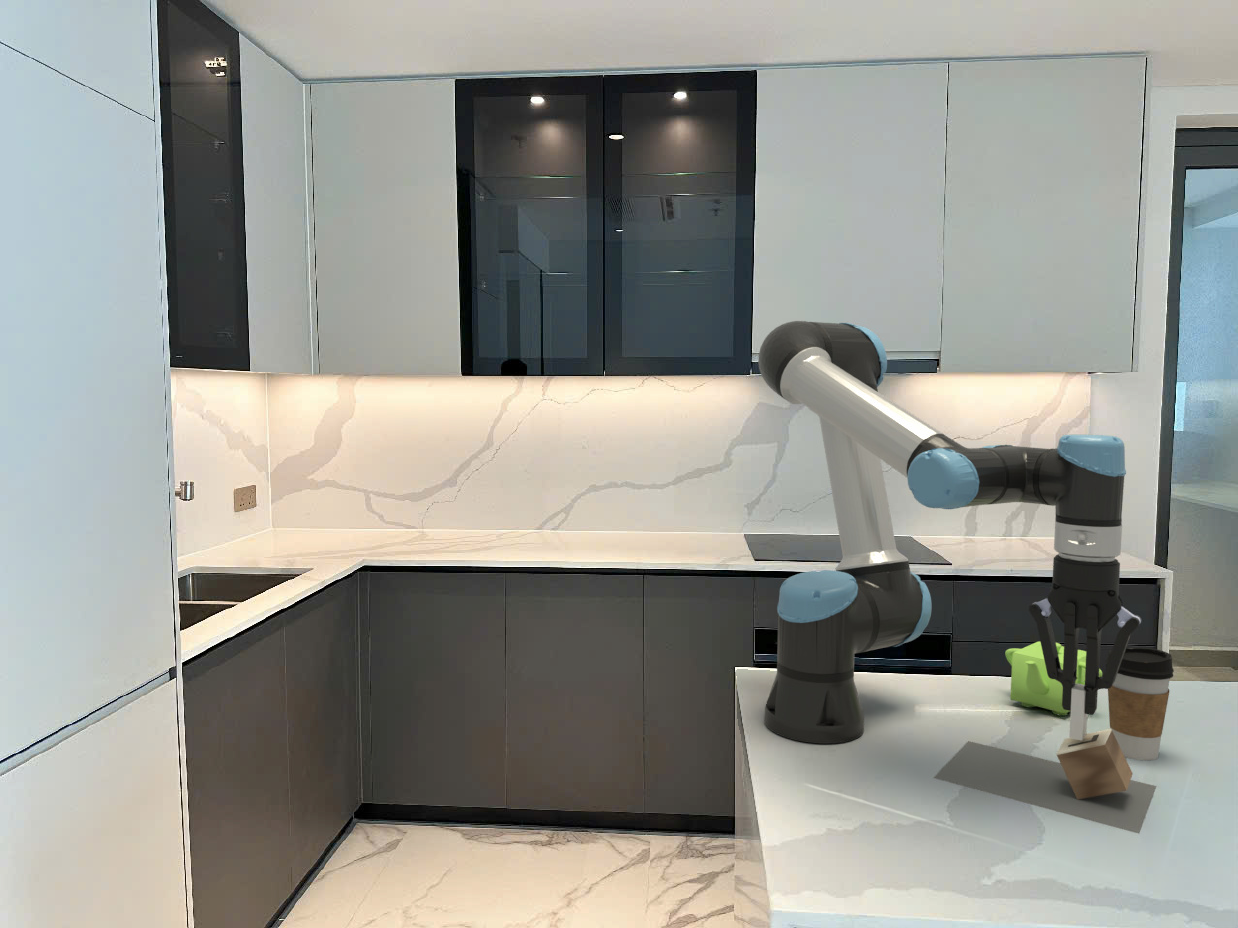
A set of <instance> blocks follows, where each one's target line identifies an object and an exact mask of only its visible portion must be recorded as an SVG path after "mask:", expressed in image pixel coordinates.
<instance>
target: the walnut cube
mask: <svg viewBox="0 0 1238 928" xmlns="http://www.w3.org/2000/svg"><path fill="white" fill-rule="evenodd" d="M1055 754H1056V756H1057V760H1059V763H1061V765H1062V767H1063V770H1064V772H1065V774H1066V776H1067V778H1068V780H1069V782H1070V785H1071V787H1072V789H1073V791H1074V793H1075V795H1076V798H1077V800H1078V799H1083V798H1089V797H1094V796H1100V795H1105V794H1110V793H1116V792H1121V791H1127V789H1128V786H1129V783H1130V780H1132V777H1133V775H1134V774H1133V771H1132V769H1131V767H1130V765H1129V763H1128V761H1127V758H1126V757H1125V756H1124V754H1123V752H1122V750H1121V748H1120V746H1119V744H1118V742H1117V740H1116V738H1115V736H1114V733H1113V731H1112V729H1110V728H1108V729H1107V728H1106V729H1103V730H1098V731H1094V732H1089V733H1086V736H1085V737H1084V739H1083V740H1082V741H1081V740H1077V739H1072V738H1069V737H1067V738H1064V739H1063V741H1062V743H1061V744H1060V746H1059V748H1058V749H1057V751H1056V753H1055Z"/></svg>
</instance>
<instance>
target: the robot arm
mask: <svg viewBox="0 0 1238 928" xmlns="http://www.w3.org/2000/svg"><path fill="white" fill-rule="evenodd" d="M757 362H758V369H759V373H760V375H761V377H762V379H763V380H764V382H765V383H766V385H767V386H768V387H769V388H770V389H771V390H772V391H773V392H774V393H776V395H778V396H779V397H781V398H782V399H784V400H785V401H787V402H788V403H790V404H792V405H804V406H805V407H807V408H808V410H809V411H811V412H812V413H814V414H815V415H817V416H818V417H819V424H820V428H821V434H822V435H821V436H822V442H823V447H824V453H825V459H826V464H827V465H826V466H827V471H828V476H829V477H828V478H829V482H830V489H831V494H832V500H833V501H832V502H833V506H834V512H835V518H836V523H837V528H838V529H837V531H838V535H839V540H840V541H839V542H840V547H841V553H842V559H841V561H839V563H838V565H836V567H835V570H829V569H828V570H827V569H825V570H819V571H816V570H810V571H804V572H800V573H797V574H795V575H792V576H789V577H788V578H786V579H785V580H784V581H783V583H781V586H780V588H779V596H778V597H779V598H778V603H777V607H776V610H777V653H776V654H777V657H776V659H777V661H776V674H775V678H774V680H773V684H772V685H771V689H770V691H769V694H768V697H767V700H766V702H765V705H764V720H763V721H764V725H765V726H766V728H768V729H769V730H771V731H772V732H773V733H775V734H776V735H779V736H782V737H784V738H788V739H790V740H795V741H798V742H799V741H800V742H803V743H805V742H806V743H813V744H840V743H846V742H849V741H850V742H851V741H853V740H855V739H857V738H859V737H861V736H862V735H863V734H864V731H865V714H864V709H863V707H862V703H861V700H860V697H859V693H858V689H857V687H856V683H855V677H854V676H855V657H856V656H855V654H860V653H865V652H869V651H874V650H878V649H883V648H896V647H900V646H902V645H903V644H905V643H906V644H907V643H909V642H912V641H914V640H916V639H917V638H919V637H920V636H921V635H922V634H923V632H924V630H925V629H926V628H927V626H928V625H929V622H930V620H931V615H932V596H931V593H930V590H929V588H928V586H927V584H926V583H925V581H922V580H921V577H920V576H919V575H918V574H916V573H914V572H912V571H911V568H910V563H909V559H908V557H906V556H905V555H904V554H902V553H901V552H899V551H898V549H897V544H896V538H895V534H894V528H893V521H892V517H891V512H890V505H889V500H888V495H887V490H886V483H885V478H884V472H883V466H882V462H885V463H886V464H887V465H888V466H890V467H891V468H893V469H894V470H896V471H897V472H899V474H901V475H903V476H904V477H905V478H906V479H907V486H908V489H909V490H910V491H911V494H912V495H913V498H914V500H916V502H918V503H919V504H920V505H922V506H925V507H927V508H929V509H942V510H955V509H961V508H968V507H976V506H985V505H986V506H987V505H999V504H1008V503H1010V504H1011V503H1027V504H1035V505H1044V506H1045V505H1046V506H1052V507H1055V512H1054V513H1055V521H1054V540H1053V541H1054V542H1053V549H1054V551H1055V552H1057V554H1055V556H1053V560H1052V561H1053V562H1052V563H1053V564H1052V585H1051V587H1050V590H1049V592H1048V593H1047V596H1046V598H1044V599H1041V600H1040V601H1038V600H1036V601H1034V602H1032V604H1030V605H1029V606H1028V611H1029V613H1030V615H1031V617H1032V618H1033V620H1034V621H1035V623H1036V627H1037V631H1038V638H1039V642H1041V647H1042V651H1043V656H1044V661H1045V665H1046V670H1047V675H1048V677H1049V678H1051V679H1055V680H1057V681H1059V682H1060V683H1061V684H1062V686H1063V694H1062V707H1063V709H1064V710H1069V712H1070V720H1069V736H1068V738H1072V739H1077V740H1081V741H1082V740H1083V739H1084V737H1085V736H1086V734H1087V728H1088V715H1090V716H1093V715H1094V714H1095V713H1096V711H1097V710H1098V709H1097V708H1098V692H1099V691H1098V690H1101V689H1102V690H1103V689H1105V690H1108V689H1109V688H1111V686H1112V685H1113V683H1114V682H1115V679H1116V676H1117V673H1118V670H1119V667H1120V664H1121V662H1122V659H1123V656H1124V653H1125V650H1126V648H1128V644H1129V641H1130V638H1131V635H1132V634H1133V632H1134V631H1136V629H1137V628H1138V627H1139V626H1140V624H1141V623H1142V620H1143V619H1142V617H1141V616H1140V615H1138V614H1133V613H1132V612H1130V611H1129V610H1128V609H1127V608H1125V607H1124V604H1123V603H1124V602H1123V600H1122V598H1121V596H1120V591H1119V590H1120V589H1119V588H1120V575H1121V574H1120V573H1121V572H1120V571H1121V562H1119V560H1118V559H1117V557H1119V556H1121V551H1122V535H1123V534H1122V533H1123V524H1122V523H1123V522H1122V521H1123V519H1122V518H1123V516H1122V512H1123V500H1124V487H1125V485H1124V484H1125V476H1126V475H1127V470H1126V462H1125V460H1126V458H1125V453H1126V450H1125V448H1126V447H1125V442H1124V441H1123V440H1122V438H1120V437H1118V436H1114V435H1106V434H1105V435H1103V434H1063V435H1062V436H1060V438H1059V439H1058V445H1057V447H1055V448H1041V447H1032V446H1030V447H1028V446H1018V445H1017V446H1016V445H1012V444H996V445H985V446H982V447H978V448H977V447H975V448H974V447H971V448H969V447H966V446H963V445H961V444H960V443H958V442H957V441H955V440H954V439H952V438H950V437H949V436H947V435H946V434H944V433H943V432H941V431H940V430H938V429H936V428H935V427H934V426H933V425H930V424H929V423H927V422H926V421H924V420H922V419H921V418H919V417H917V416H916V415H914V414H912V413H911V412H910V411H908V410H906V409H905V408H904V407H902V406H900V405H899V404H897V403H896V402H895V401H893V400H891V399H890V398H888V397H886V396H885V395H883V394H882V393H880V392H879V391H878V387H879V386H880V385H881V384H882V382H883V381H884V379H885V376H884V374H885V373H886V372H887V368H888V355H887V352H886V349H885V346H884V344H883V342H882V340H881V338H879V336H878V335H877V334H876V333H875V332H873V331H872V330H871V329H869V328H867V327H865V326H862V325H855V324H853V323H848V322H839V323H836V322H835V323H832V322H818V321H806V320H793V321H788V322H785V323H782V324H779V326H776V327H774V329H773V330H771V331H770V332H769V333H768V334H767V335H766V337H765V338H764V340H763V341H762V344H761V346H760V349H759V351H758V361H757ZM1051 607H1052V609H1053V611H1054V612H1055V614H1056V615H1057V616H1058V618H1059V619H1060V621H1061V622H1062V623H1063V624H1064V625H1063V635H1064V642H1063V647H1064V658H1063V670H1062V669H1061V666H1060V661H1059V656H1058V652H1057V647H1056V643H1057V642H1056V638H1055V634H1054V630H1053V624H1052V621H1051V617H1050V615H1051V614H1052V609H1051ZM1116 616H1117V617H1118V620H1117V626H1118V627H1119V628H1120V630H1119V631H1118V632H1117V634H1116V638H1115V640H1114V642H1113V643H1114V644H1113V647H1112V652H1111V655H1110V658H1109V661H1108V663H1107V666H1106V665H1105V670H1104V673H1103V674H1102V677H1099V669H1100V663H1101V660H1100V659H1101V643H1102V642H1101V641H1102V640H1101V639H1102V630H1103V628H1105V626H1107V625H1108V624H1109V623H1110V621H1111V620H1112V619H1113V618H1114V617H1116ZM1081 628H1082V629H1084V630H1086V631H1085V632H1086V633H1085V635H1086V636H1085V637H1086V646H1085V647H1086V648H1085V649H1086V650H1085V651H1086V668H1085V685H1083V684H1077V683H1076V684H1075V681H1076V679H1077V677H1076V676H1077V656H1078V650H1079V635H1080V629H1081Z"/></svg>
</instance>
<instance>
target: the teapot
mask: <svg viewBox="0 0 1238 928" xmlns="http://www.w3.org/2000/svg"><path fill="white" fill-rule="evenodd" d="M1056 647H1057V652H1058V656H1059V661H1060V666H1061V669H1062V670H1063V658H1064V645H1062V644H1060V643H1058V642H1056ZM1005 658H1006V660H1007V662H1008V663H1009V665H1010V666H1011V679H1010V680H1011V682H1010V696H1009V697H1010V700H1011V701H1015V702H1019V703H1021V706H1023V707H1027V708H1034V707H1038V708H1042V709H1046V710H1049V711H1052V714H1054V715H1056V714H1059V715H1058V716H1060V715H1065V716H1067V715H1068V713H1070V711H1069V710H1064V709H1063V707H1062V694H1063V686H1062V684H1061V683H1060V682H1059V681H1057V680H1055V679H1051V678H1049V677H1048V675H1047V670H1046V665H1045V661H1044V656H1043V651H1042V647H1041V642H1040V640H1039V641H1036V642H1034V643H1032V644H1029V645H1027V646H1025V647H1023V648H1015V647H1014V648H1008V649H1006V650H1005ZM1085 668H1086V650H1081V649H1078V656H1077V676H1076V677H1077V679H1076V681H1075V684H1076V683H1077V684H1083V685H1085ZM1102 676H1103V671H1102V670H1101V668H1099V677H1102ZM1066 714H1067V715H1066Z"/></svg>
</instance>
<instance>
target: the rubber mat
mask: <svg viewBox="0 0 1238 928" xmlns="http://www.w3.org/2000/svg"><path fill="white" fill-rule="evenodd" d="M933 779H936V780H940V781H943V782H947V783H951V784H955V785H958V786H962V787H965V788H969V789H973V790H976V791H980V792H983V793H988V794H991V795H995V796H1000V797H1002V798H1006V799H1010V800H1013V801H1018V802H1021V803H1025V804H1027V805H1028V804H1029V805H1031V806H1035V807H1039V808H1042V809H1043V808H1044V809H1047V810H1051V811H1054V812H1057V813H1062V814H1064V815H1069V816H1072V817H1077V818H1079V819H1083V820H1087V821H1091V822H1095V823H1098V824H1102V825H1106V826H1110V827H1113V828H1115V829H1116V828H1117V829H1120V830H1125V831H1128V832H1131V833H1135V834H1139V835H1140V833H1141V830H1142V827H1143V824H1144V822H1145V819H1146V816H1147V814H1148V811H1149V808H1150V806H1151V803H1152V799H1153V798H1154V795H1155V792H1156V789H1157V785H1154V784H1149V783H1145V782H1141V781H1138V780H1137V781H1136V780H1132V779H1131V780H1130V783H1129V786H1128V789H1127V791H1121V792H1116V793H1110V794H1105V795H1100V796H1094V797H1089V798H1083V799H1078V800H1077V798H1076V795H1075V793H1074V791H1073V789H1072V787H1071V785H1070V782H1069V780H1068V778H1067V776H1066V774H1065V772H1064V770H1063V767H1062V765H1061V763H1060V762H1058V761H1057V762H1056V761H1053V760H1049V759H1045V758H1042V757H1037V756H1032V755H1028V754H1024V753H1019V752H1016V751H1011V750H1009V749H1003V748H998V747H996V746H991V745H987V744H983V743H979V742H974V741H970V740H968V741H966V743H965V744H963V746H962V747H961V748H960V749H959V750H958V751H957V752H956V753H955V754H954V756H952V758H951V759H950V760H948V762H946V764H945V765H944V766H943V767H942V768H941V769H940V770H939V771H938V772H937V773H936V774H935V775H934V776H933Z"/></svg>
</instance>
